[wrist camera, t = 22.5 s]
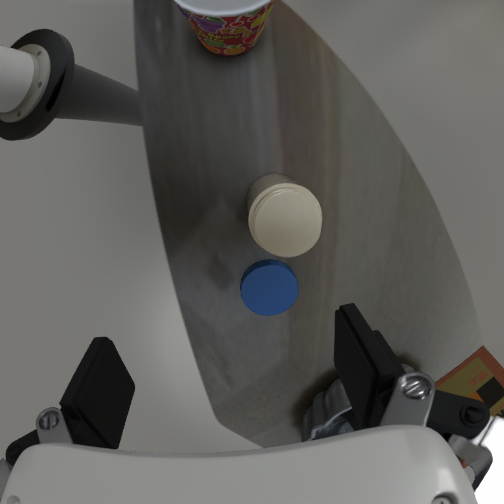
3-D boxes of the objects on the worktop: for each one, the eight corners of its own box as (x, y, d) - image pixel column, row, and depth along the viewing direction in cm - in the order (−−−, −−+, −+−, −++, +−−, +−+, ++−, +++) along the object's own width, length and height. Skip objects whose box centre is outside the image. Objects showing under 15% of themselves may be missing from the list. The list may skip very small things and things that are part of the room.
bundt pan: (260, 403, 45) (264, 451, 36) (395, 317, 40) (425, 358, 30) (332, 448, 53) (341, 483, 44) (433, 387, 48) (453, 419, 38)
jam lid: (271, 317, 38) (272, 325, 37) (229, 289, 37) (228, 295, 35) (307, 280, 37) (310, 287, 35) (265, 248, 35) (266, 253, 33)
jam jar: (238, 218, 33) (237, 247, 25) (259, 165, 31) (266, 173, 22) (290, 237, 35) (307, 271, 26) (312, 186, 32) (339, 203, 24)
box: (483, 345, 45) (532, 403, 26) (482, 366, 48) (524, 420, 29) (423, 390, 48) (463, 460, 29) (428, 407, 50) (462, 469, 32)
